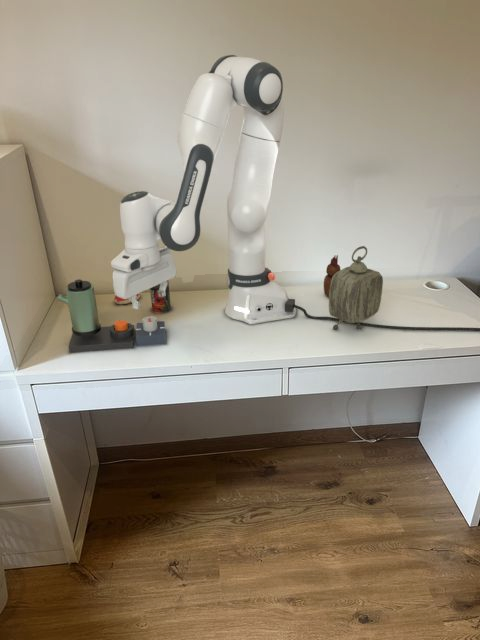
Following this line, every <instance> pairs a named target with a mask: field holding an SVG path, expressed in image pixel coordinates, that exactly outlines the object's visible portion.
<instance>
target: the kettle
mask: <svg viewBox="0 0 480 640" xmlns="http://www.w3.org/2000/svg"><path fill="white" fill-rule="evenodd" d="M65 294H66V296H64V295H62V294H60V293H59V294H58V296H57V298H56V300H58V301H60V302H61V303H64V304H65V305H68V310H69V316H70V320H71V321H70V322H71V332H72V334H74V335H77V336H90V335H94V334H96V333H98V332H99V331H100V330H101V327H102V325H101V323H100V319H99V313H98V307H97V301H96V293H95V288H94V284H93V283H92V282H90V281H88V280H82V279H75V280H74V281H72V282H70V283H68V284H67V285H66V286H65Z"/></svg>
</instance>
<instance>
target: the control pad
mask: <svg viewBox="0 0 480 640" xmlns="http://www.w3.org/2000/svg"><path fill="white" fill-rule="evenodd" d="M135 327H136V328H135V344H136V347H147V346H159V345H166V344H167V341H166V323H165V320H159V321H158V320H157V327H158V328H157V330H155V331H152V332H147V331H144V330H143V322H136V326H135Z"/></svg>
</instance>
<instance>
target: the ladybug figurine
mask: <svg viewBox="0 0 480 640" xmlns="http://www.w3.org/2000/svg"><path fill="white" fill-rule="evenodd" d="M136 295H137V298H135V299H136V300H137V301H138V300H139V299H140V298H141V293H139V294H136ZM113 301H114V303H115V304H117V305H128V304H131V303H132V302H131V301H130V300H129V299H122V298H119V297H118V296H116V295H115V296H114V300H113Z"/></svg>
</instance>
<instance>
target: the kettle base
mask: <svg viewBox="0 0 480 640" xmlns="http://www.w3.org/2000/svg"><path fill="white" fill-rule="evenodd" d="M127 323H128V329H127V330H124V331H116V330H115V325H114V324H112V325H111V326H108V325H107V326H101V330H100V331H99V332H98V333H96V334H94V335H90V336H77V335H74V334H73V333H72V334H71V337H70V340H69V344H68V350H69V351H68V352H69V353H70V354H75V353H87V352H88V353H89V352H100V351H103V352H104V351H114V350H115V351H117V350H128V349H129V350H130V349H134V342H135V324H131V322H127Z"/></svg>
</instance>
